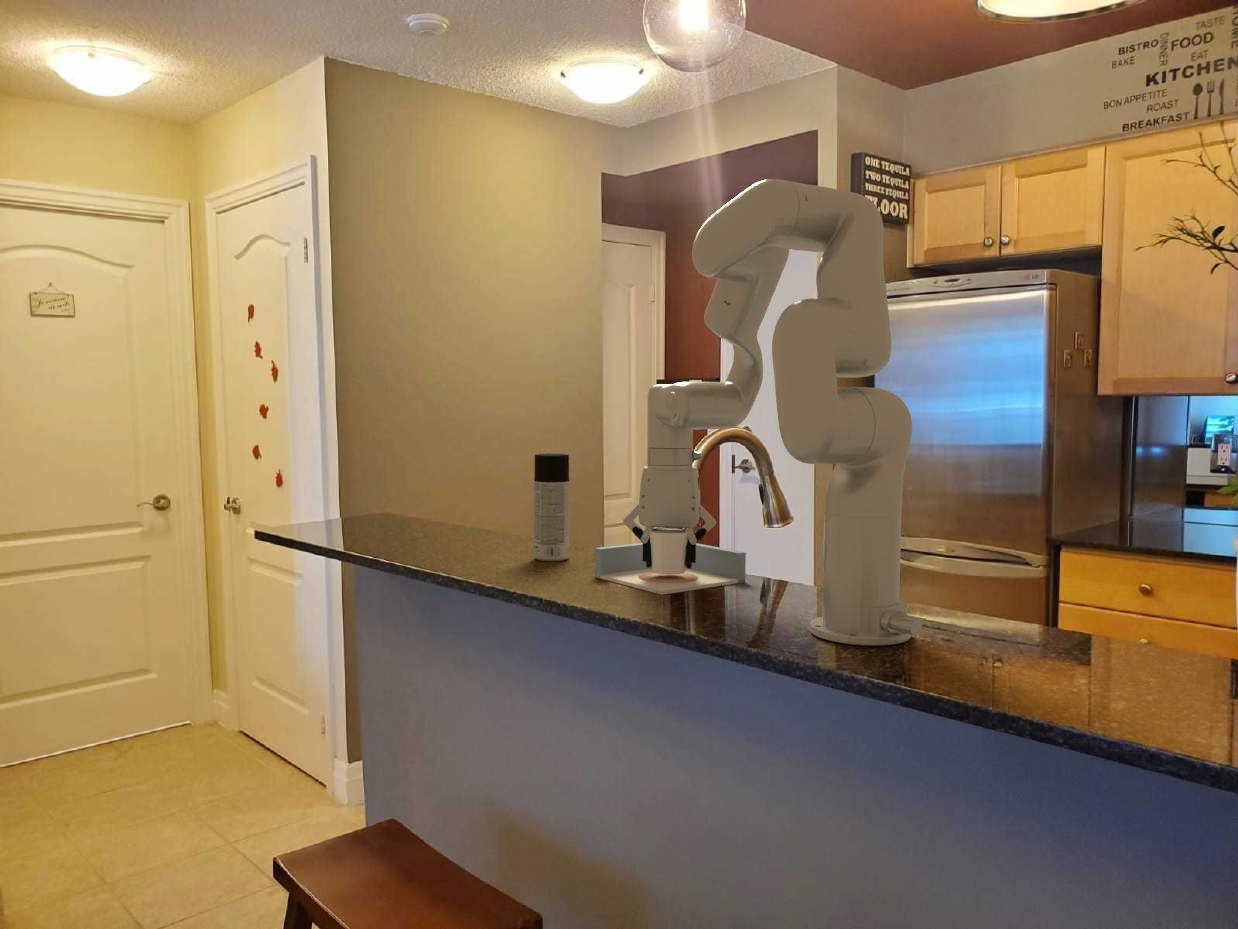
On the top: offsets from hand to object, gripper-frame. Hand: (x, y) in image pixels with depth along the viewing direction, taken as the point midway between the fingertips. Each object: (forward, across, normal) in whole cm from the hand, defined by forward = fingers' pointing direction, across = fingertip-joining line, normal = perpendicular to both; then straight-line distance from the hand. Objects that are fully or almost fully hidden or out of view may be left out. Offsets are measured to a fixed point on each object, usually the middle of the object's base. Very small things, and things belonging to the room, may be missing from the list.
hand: (669, 565), depth 153 cm
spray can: (+3, +24, -19) cm, 31 cm away
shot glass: (+1, 0, 0) cm, 1 cm away
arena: (+3, 0, -2) cm, 3 cm away
